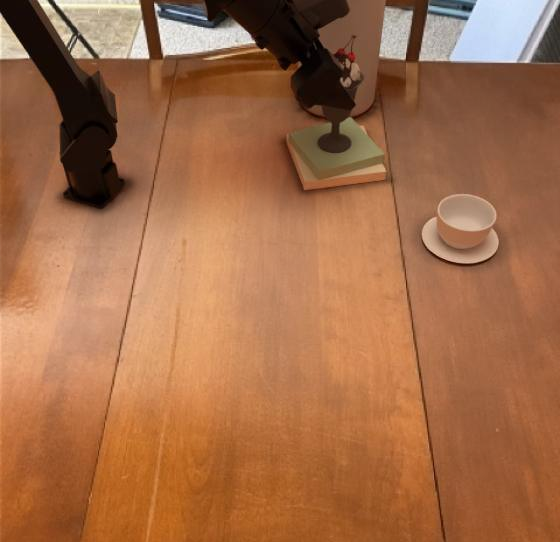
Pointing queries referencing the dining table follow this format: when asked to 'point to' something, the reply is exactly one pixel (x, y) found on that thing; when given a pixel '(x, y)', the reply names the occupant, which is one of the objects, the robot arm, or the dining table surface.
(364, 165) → the block stack
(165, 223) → the dining table surface
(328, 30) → the cylinder vase
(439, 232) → the teacup
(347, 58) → the sundae
